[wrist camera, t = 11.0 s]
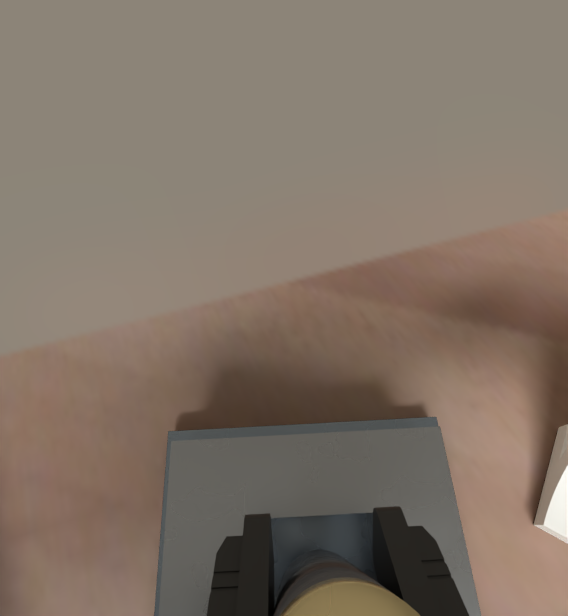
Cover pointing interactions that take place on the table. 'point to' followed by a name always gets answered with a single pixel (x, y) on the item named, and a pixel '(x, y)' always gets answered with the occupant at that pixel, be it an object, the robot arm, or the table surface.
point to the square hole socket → (302, 498)
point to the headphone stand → (555, 491)
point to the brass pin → (334, 590)
